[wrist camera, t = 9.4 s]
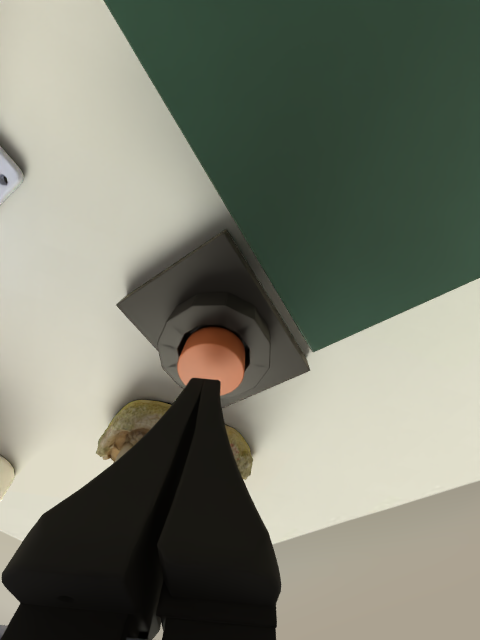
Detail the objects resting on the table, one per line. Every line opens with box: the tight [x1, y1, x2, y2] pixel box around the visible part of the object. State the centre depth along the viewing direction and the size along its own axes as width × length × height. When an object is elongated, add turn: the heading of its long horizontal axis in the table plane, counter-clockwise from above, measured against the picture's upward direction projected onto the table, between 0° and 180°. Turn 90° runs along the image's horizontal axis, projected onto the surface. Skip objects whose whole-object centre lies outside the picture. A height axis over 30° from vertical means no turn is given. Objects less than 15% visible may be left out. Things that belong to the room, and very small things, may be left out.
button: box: [177, 327, 245, 395], centre depth 14 cm, size 4×4×2 cm
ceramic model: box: [96, 400, 253, 480], centre depth 19 cm, size 14×11×10 cm
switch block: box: [116, 230, 310, 408], centre depth 16 cm, size 8×10×3 cm
